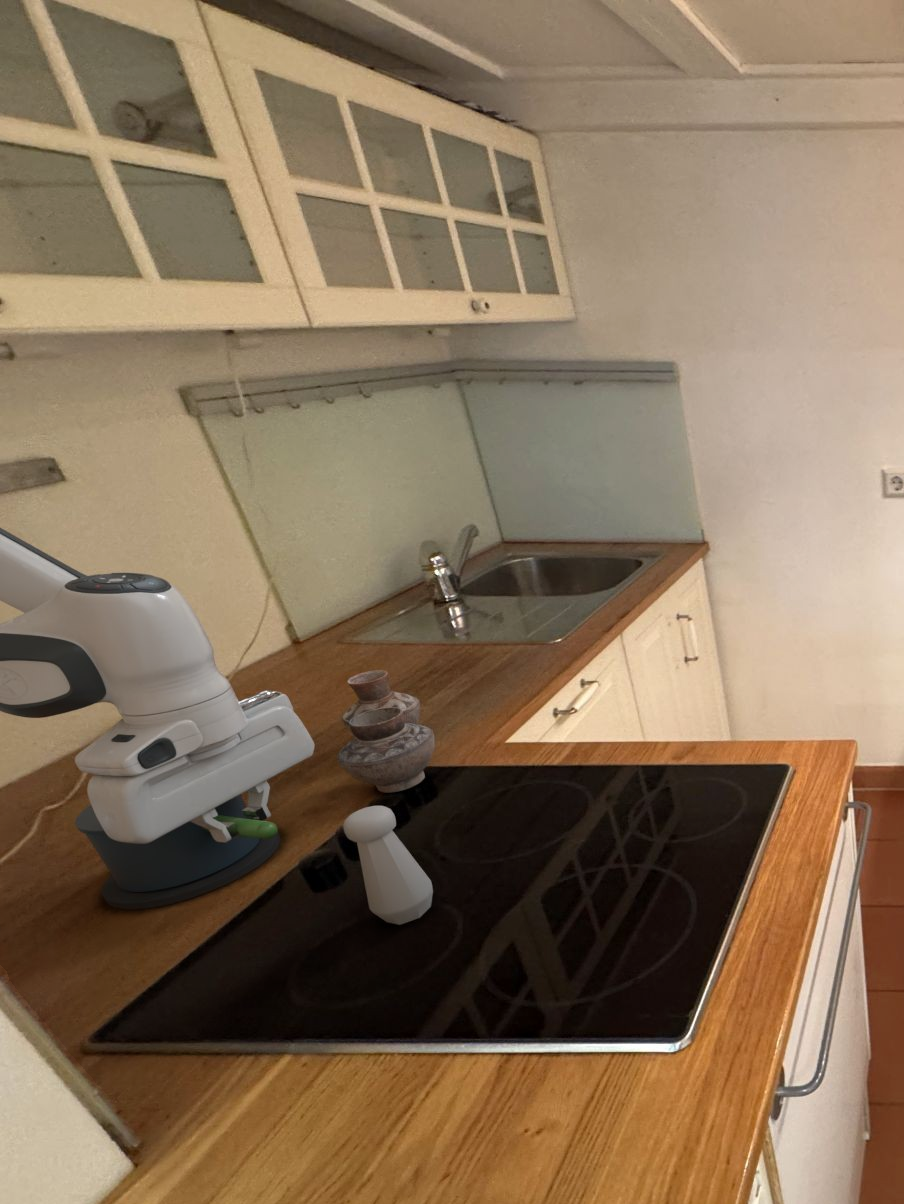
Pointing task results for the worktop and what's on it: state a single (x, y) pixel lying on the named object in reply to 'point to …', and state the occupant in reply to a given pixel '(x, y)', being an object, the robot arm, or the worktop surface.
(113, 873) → the pot
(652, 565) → the worktop surface
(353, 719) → the pottery
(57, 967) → the worktop surface
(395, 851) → the salt shaker
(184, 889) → the trivet
